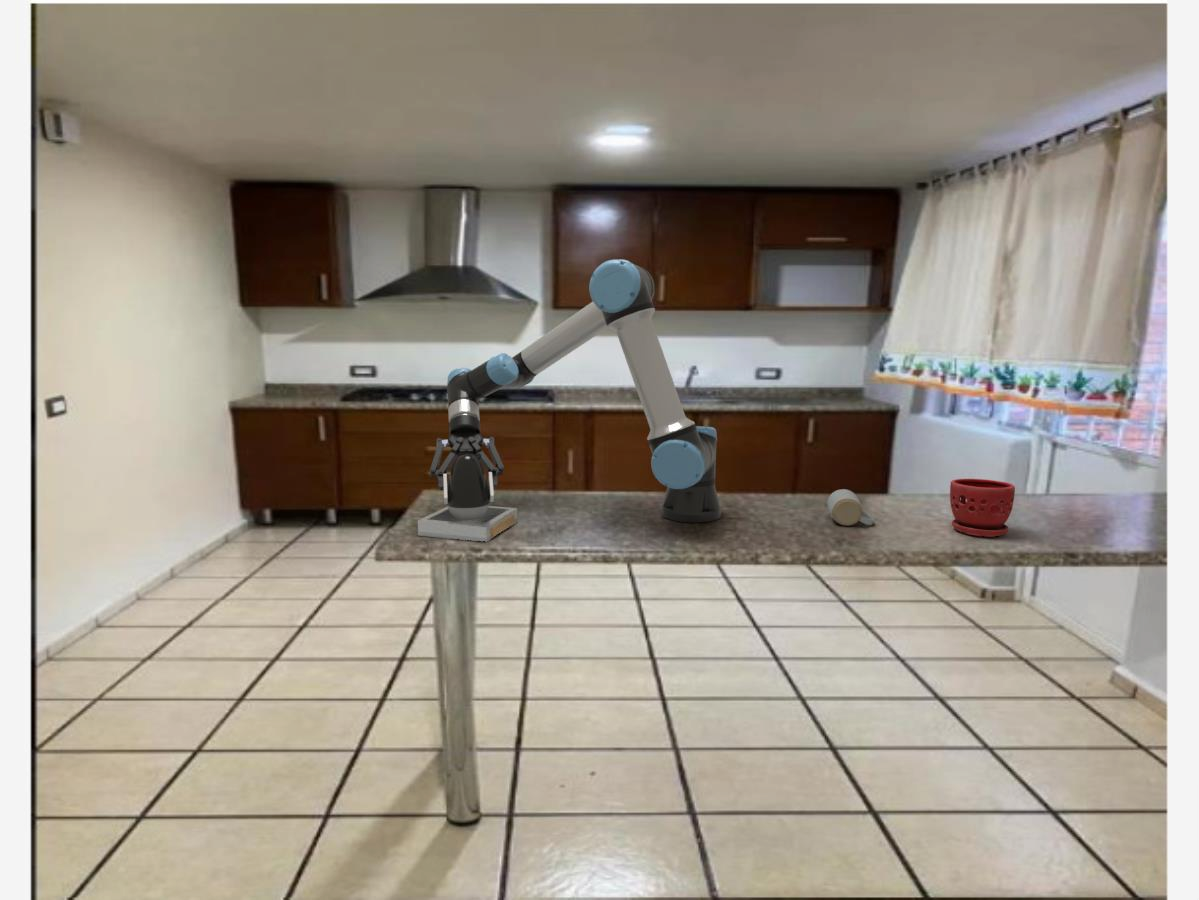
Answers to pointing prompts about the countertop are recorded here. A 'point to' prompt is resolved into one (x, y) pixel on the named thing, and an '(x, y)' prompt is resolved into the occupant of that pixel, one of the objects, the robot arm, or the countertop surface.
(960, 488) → the plant pot
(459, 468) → the black rounded piece
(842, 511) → the ceramic mug
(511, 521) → the flat gray box
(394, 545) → the countertop surface
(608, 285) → the robot arm
